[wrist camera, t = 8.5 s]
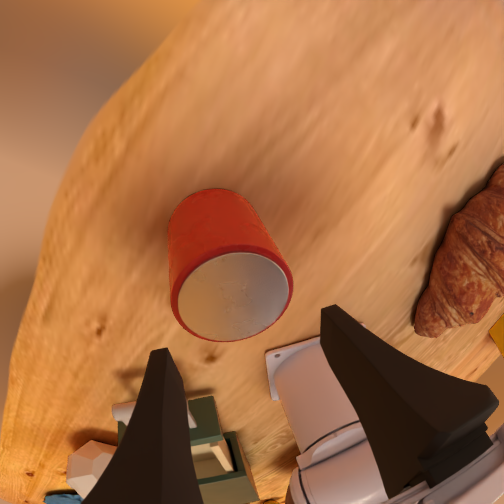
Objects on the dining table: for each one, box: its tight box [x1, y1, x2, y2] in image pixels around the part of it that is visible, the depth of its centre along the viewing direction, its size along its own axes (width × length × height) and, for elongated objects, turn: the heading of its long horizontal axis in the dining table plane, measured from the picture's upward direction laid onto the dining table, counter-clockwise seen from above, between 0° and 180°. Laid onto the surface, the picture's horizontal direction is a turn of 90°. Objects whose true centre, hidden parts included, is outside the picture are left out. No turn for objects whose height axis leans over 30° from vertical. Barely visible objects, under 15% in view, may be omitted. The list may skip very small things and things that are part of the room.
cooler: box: [197, 431, 260, 504], centre depth 34 cm, size 15×11×6 cm
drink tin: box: [168, 189, 293, 342], centre depth 17 cm, size 6×6×7 cm
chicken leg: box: [66, 440, 117, 499], centre depth 29 cm, size 8×18×8 cm, turn 142°
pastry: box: [414, 164, 504, 338], centre depth 23 cm, size 17×15×8 cm
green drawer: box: [112, 396, 236, 479], centre depth 27 cm, size 18×9×4 cm, turn 7°
